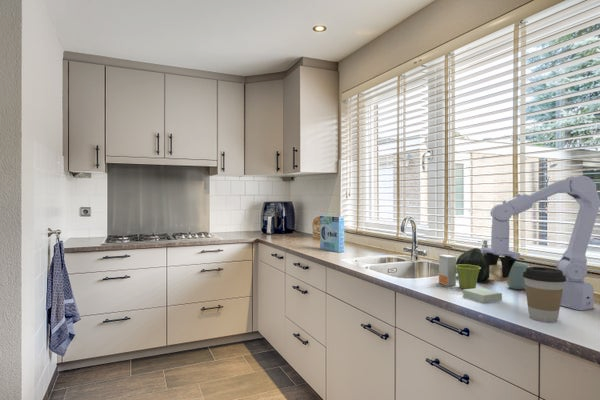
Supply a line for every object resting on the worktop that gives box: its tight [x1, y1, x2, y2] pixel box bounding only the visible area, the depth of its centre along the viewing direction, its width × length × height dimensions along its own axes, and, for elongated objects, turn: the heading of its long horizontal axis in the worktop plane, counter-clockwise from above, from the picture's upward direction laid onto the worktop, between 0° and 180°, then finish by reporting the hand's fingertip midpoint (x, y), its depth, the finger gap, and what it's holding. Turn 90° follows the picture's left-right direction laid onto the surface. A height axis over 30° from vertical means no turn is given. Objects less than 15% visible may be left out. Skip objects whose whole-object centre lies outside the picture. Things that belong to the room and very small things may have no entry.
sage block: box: [462, 287, 503, 304], centre depth 141 cm, size 9×9×3 cm
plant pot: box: [456, 264, 481, 290], centre depth 157 cm, size 9×9×9 cm
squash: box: [456, 247, 490, 282], centre depth 173 cm, size 14×15×15 cm
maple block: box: [488, 264, 509, 283], centre depth 140 cm, size 4×4×5 cm
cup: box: [505, 261, 529, 291], centre depth 157 cm, size 8×8×10 cm
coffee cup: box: [523, 266, 566, 324], centre depth 118 cm, size 11×11×15 cm
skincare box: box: [438, 254, 457, 287], centre depth 163 cm, size 6×4×12 cm
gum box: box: [319, 214, 345, 253], centre depth 258 cm, size 20×5×23 cm, turn 36°
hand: (499, 275), depth 140 cm, fingers closed on maple block, 4 cm apart
